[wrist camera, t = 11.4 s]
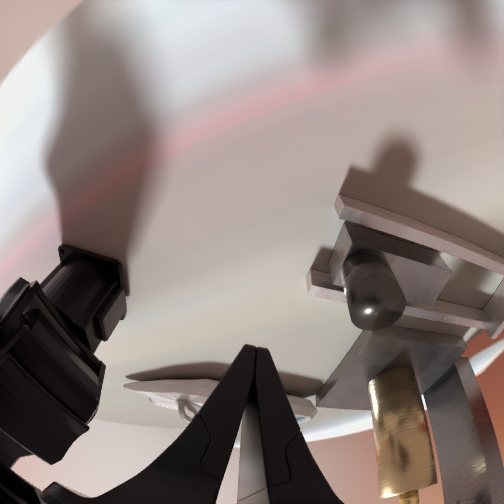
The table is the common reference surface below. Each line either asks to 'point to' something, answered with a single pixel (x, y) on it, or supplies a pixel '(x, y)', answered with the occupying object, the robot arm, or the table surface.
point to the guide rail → (499, 306)
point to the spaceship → (201, 396)
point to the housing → (401, 436)
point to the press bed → (430, 404)
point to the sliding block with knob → (384, 276)
